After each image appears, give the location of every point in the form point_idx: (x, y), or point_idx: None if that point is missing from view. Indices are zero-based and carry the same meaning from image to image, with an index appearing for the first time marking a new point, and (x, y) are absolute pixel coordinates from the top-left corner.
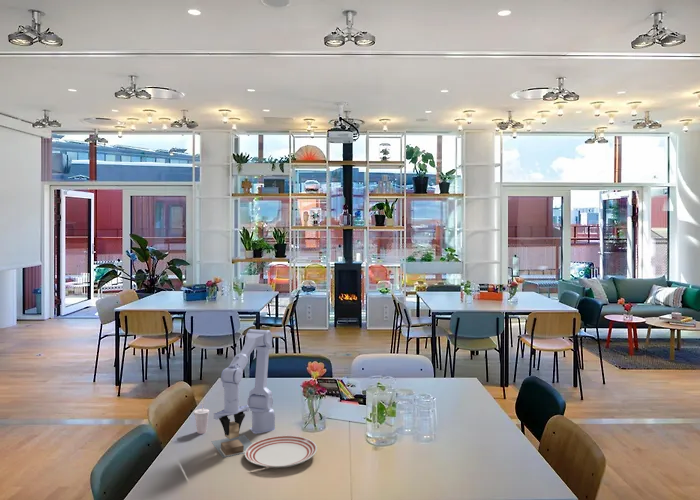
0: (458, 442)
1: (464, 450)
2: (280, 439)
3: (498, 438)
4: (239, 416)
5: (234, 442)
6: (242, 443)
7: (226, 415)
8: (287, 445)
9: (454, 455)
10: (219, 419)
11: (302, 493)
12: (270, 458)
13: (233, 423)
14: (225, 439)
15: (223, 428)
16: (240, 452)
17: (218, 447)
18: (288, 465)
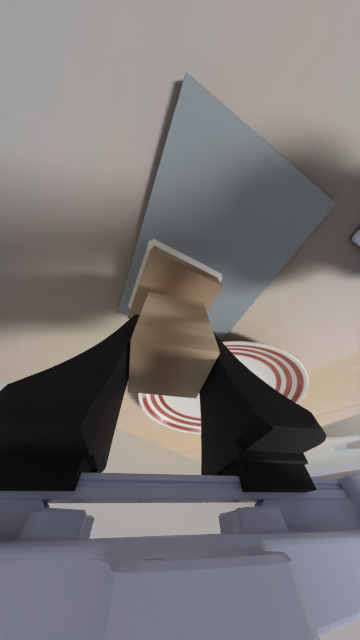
0: (336, 458)
1: (314, 463)
2: (285, 366)
3: (351, 466)
4: (205, 466)
5: (189, 298)
6: (239, 275)
7: (75, 494)
8: (264, 380)
9: None
10: (28, 384)
11: (145, 438)
12: None
13: (180, 378)
14: (249, 154)
15: (117, 331)
16: None
17: (156, 220)
18: (173, 429)
